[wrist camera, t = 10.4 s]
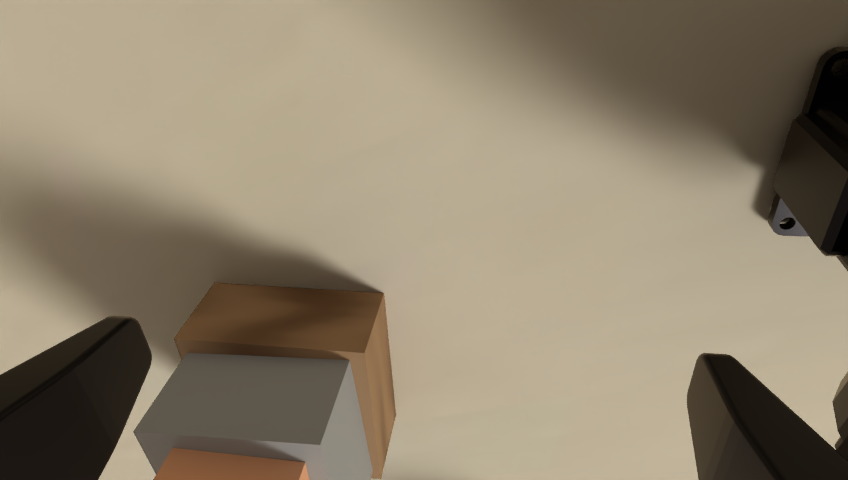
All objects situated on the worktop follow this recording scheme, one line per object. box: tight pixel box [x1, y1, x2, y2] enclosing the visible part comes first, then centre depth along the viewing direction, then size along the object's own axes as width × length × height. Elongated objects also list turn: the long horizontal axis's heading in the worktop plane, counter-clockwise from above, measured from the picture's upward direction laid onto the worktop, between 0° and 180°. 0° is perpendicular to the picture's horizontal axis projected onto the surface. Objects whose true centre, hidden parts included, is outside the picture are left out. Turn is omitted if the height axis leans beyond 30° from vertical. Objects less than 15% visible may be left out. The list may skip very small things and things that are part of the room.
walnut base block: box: [174, 283, 396, 479], centre depth 27 cm, size 8×8×4 cm
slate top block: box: [133, 353, 373, 480], centre depth 24 cm, size 7×7×4 cm
